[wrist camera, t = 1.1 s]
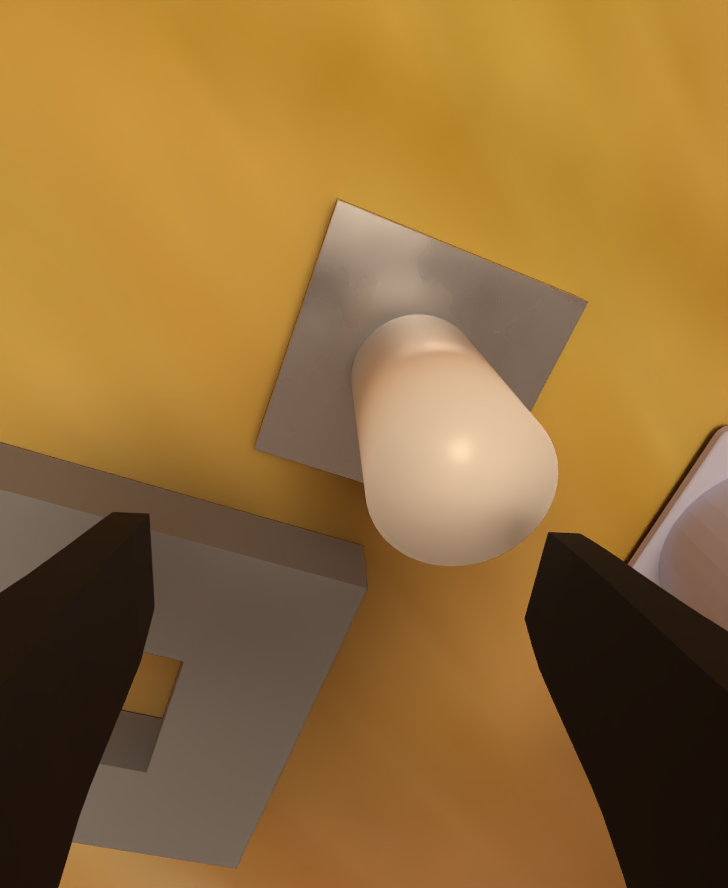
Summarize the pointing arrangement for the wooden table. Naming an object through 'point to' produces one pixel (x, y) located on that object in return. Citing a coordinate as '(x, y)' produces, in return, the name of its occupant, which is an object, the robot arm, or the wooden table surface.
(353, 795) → the wooden table surface
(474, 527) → the peg
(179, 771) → the hole plate
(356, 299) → the square grey metal plate
